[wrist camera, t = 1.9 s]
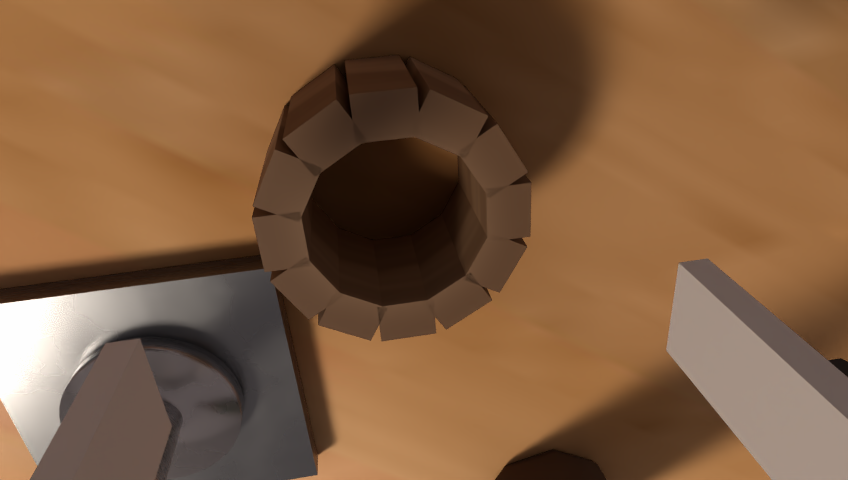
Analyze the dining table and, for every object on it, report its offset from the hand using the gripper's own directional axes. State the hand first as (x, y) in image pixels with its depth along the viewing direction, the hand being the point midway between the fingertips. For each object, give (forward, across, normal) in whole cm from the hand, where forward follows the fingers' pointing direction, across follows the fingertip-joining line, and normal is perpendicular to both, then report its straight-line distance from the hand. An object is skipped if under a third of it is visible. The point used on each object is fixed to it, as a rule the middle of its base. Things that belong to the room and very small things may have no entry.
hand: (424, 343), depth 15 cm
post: (+11, -11, -8) cm, 18 cm away
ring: (+11, 0, +1) cm, 11 cm away
